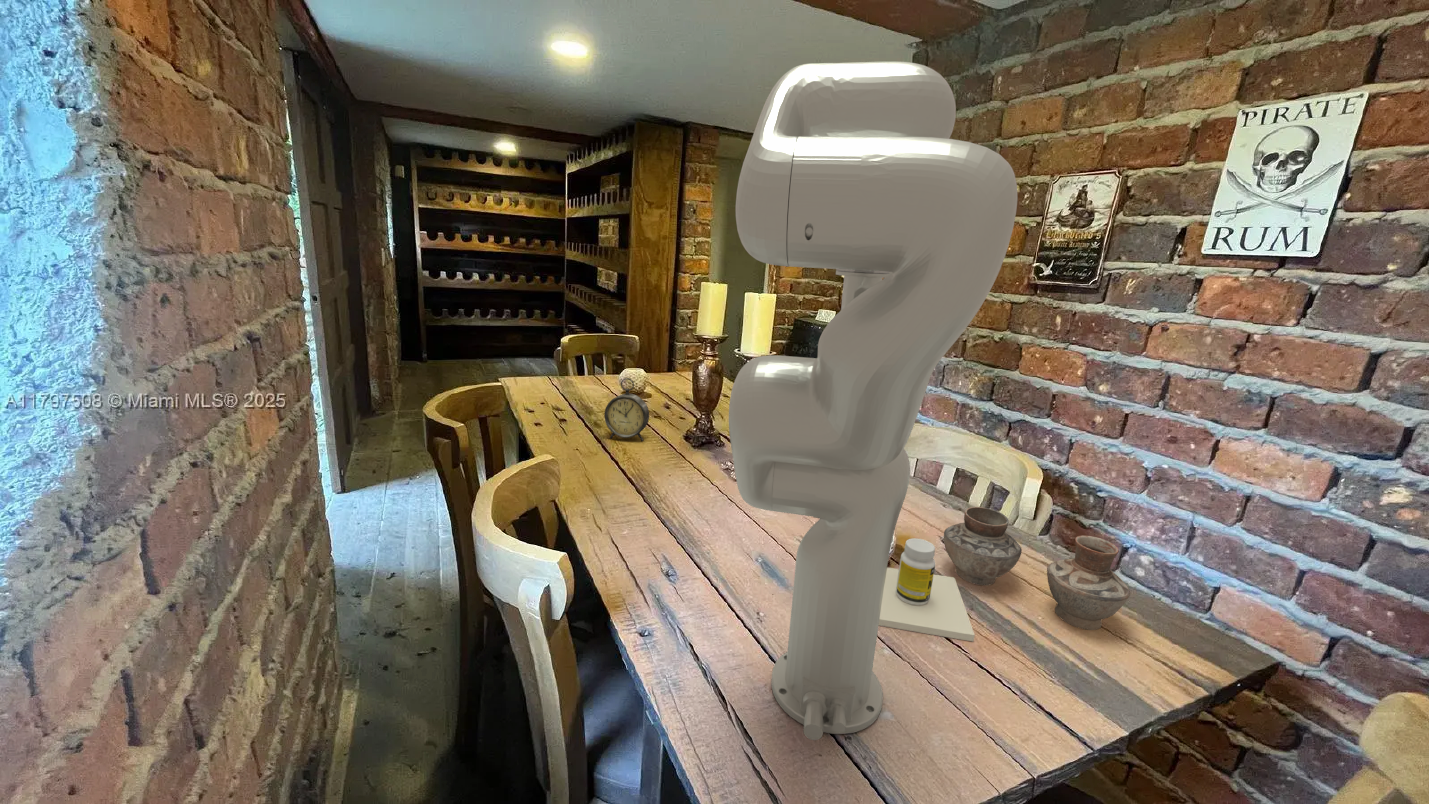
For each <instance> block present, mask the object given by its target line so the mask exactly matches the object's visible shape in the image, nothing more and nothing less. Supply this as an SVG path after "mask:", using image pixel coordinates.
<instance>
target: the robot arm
mask: <svg viewBox="0 0 1429 804" xmlns="http://www.w3.org/2000/svg"><path fill="white" fill-rule="evenodd" d="M956 108H957V106H956V99H955V97H954V93H953V90H952V88H951V86H950V85H949V83H948V81H947V80H946V79H945V78H944V76H942V74H940V73H939V72H938V71H936V70H935V69H933V68H932V67H929V66H926V65H924V64H921V63H920V64H919V63H915V62H909V61H867V62H866V61H863V62H862V61H861V62H860V61H857V62H856V61H854V62H823V63H819V62H818V63H814V62H813V63H810V62H809V63H804V64H800V65H797V66H794V67H792V68H790V69H789V70H788V71H787V72H785V73H784V74H783V75H782V76H780V78H779V79H778V80H777V81H776V83H775V84H774V85H773V87H772V89H771V90H770V93H769V94H768V96H767V98H766V100H765V102H764V105H763V107H762V110H761V111H760V115H759V118H758V120H757V124H756V126H755V129H754V132H753V134H752V137H751V141H750V144H749V146H748V149H747V152H746V154H745V158H744V159H743V162H742V167H741V170H740V173H739V178H738V181H737V189H736V198H735V221H736V223H735V224H736V229H737V233H738V237H739V239H740V243H741V245H742V246H743V248H744V249H745V251H746V252H747V253H748V254H749V255H750V256H751V257H752V258H753V259H755V260H756V261H759V262H761V263H763V264H767V265H772V266H778V267H779V266H782V267H792V268H795V267H797V268H807V269H809V268H814V269H831V270H835V275H837V276H843V285H842V293H841V294H842V295H841V307H840V311H839V312H838V313H837V314H835V315H834V316H833V317H832V319H831V320H829V322H828V323H827V325H826V326H825V327H824V329H823V331H822V333H821V335H820V337H819V339H818V343H817V357H816V358H814V357H805V356H804V357H803V356H789V355H762V356H757V357H754V358H752V359H750V360H749V361H747V362H746V363H745V364H743V366H742V367H741V368H740V370H739V371H738V373H737V375H736V377H735V379H734V383H732V384H733V385H732V388H731V393H730V399H729V404H728V405H729V406H728V431H729V433H728V434H729V441H730V448H731V454H732V460H733V467H734V474H735V480H736V485H737V489H738V492H739V494H740V496H741V498H742V500H743V501H744V502H745V504H747V505H749V506H751V507H753V508H755V509H759V510H763V511H764V510H765V511H769V512H776V513H784V514H790V515H791V514H792V515H800V516H804V517H805V516H806V517H811V518H812V517H813V518H815V519H818V520H817V521H816V522H815V523H814V524H813V525H812V526H811V527H810V528H809V529H808V530H807V531H806V533H805V534H804V536H803V537H802V539H801V541H800V543H799V545H798V548H797V552H796V559H795V567H794V568H795V569H794V577H793V591H792V600H791V608H790V609H791V610H790V619H789V620H790V622H789V631H788V632H789V633H788V641H787V643H788V644H787V651H786V652H785V653H783V654H782V655H781V656H780V657H778V659H777V660H776V661H775V663H774V665H773V668H772V672H771V680H770V681H771V682H770V683H771V689H772V695H773V696H774V697H775V700H776V702H777V703H778V705H779V706H780V707H781V709H782V710H783V711H784V712H785V713H786V714H787V715H788V716H789V717H790V718H792V719H793V720H794V721H796V722H798V723H799V724H800V725H801V724H802V725H803V734H804V736H805V737H806V738H807V739H809V740H811V741H818V740H820V739H821V738H822V737H823V735H824V733H827V734H832V735H834V734H835V735H847V734H852V733H856V732H859V731H862V730H865V729H866V728H868V727H870V726H871V725H872V724H873V723H874V722H875V721H876V720H878V718H879V716H880V713H881V711H882V706H883V702H884V698H883V697H884V692H883V689H882V685H881V682H880V680H879V678H878V677H877V675H876V674H875V673H874V671H873V667H874V660H875V659H874V658H875V655H876V653H875V652H876V646H877V641H878V640H877V639H878V631H879V619H880V612H881V605H882V598H883V591H884V584H885V578H886V571H887V567H888V565H889V564H888V563H889V558H890V553H891V552H890V551H891V548H892V542H893V538H894V534H895V530H896V526H897V524H898V523H897V522H898V520H899V516H900V513H901V511H902V507H903V506H904V505H903V504H904V502H905V499H906V495H907V492H908V488H909V484H910V475H911V463H910V459H909V455H908V453H907V452H906V449H905V446H906V445H907V443H908V440H909V438H910V437H911V434H912V431H913V429H914V426H915V422H916V420H917V417H918V414H919V412H920V409H921V406H922V403H923V401H924V398H925V395H926V391H927V388H928V386H929V383H930V380H931V376H932V374H933V372H934V371H935V369H936V367H937V365H938V364H939V362H940V361H941V360H942V358H943V357H944V356H945V355H946V353H947V352H948V351H949V350H950V349H951V348H952V346H953V345H954V344H955V343H956V342H957V340H958V339H959V338H960V337H961V335H962V334H963V333H964V332H965V330H966V329H967V328H968V326H969V325H970V324H971V323H972V321H973V319H974V318H975V316H976V315H977V314H978V312H979V310H980V309H981V307H982V305H983V304H984V302H985V300H986V299H987V297H988V295H989V293H990V292H991V290H992V287H993V286H994V283H995V281H996V279H997V277H998V275H999V274H1000V271H1001V268H1002V265H1003V262H1004V260H1005V257H1006V254H1007V252H1008V248H1009V246H1010V241H1011V238H1012V234H1013V229H1014V226H1015V220H1016V214H1017V207H1018V185H1017V184H1018V183H1017V180H1016V174H1015V172H1014V169H1013V167H1012V166H1011V164H1010V163H1009V162H1008V161H1007V159H1005V158H1004V157H1003V156H1002V155H1001V154H1000V153H998V152H996V151H994V150H992V149H990V148H989V147H987V146H983V145H981V144H978V143H973V142H971V141H965V140H959V139H954V138H951V136H952V133H953V131H954V126H955V123H956V117H957V116H956V112H957V109H956Z"/></svg>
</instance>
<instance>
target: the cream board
mask: <svg viewBox="0 0 1429 804" xmlns="http://www.w3.org/2000/svg"><path fill="white" fill-rule="evenodd" d="M898 572H899V568H893V567H889V566H887V571H886V578H885V584H884V591H883V598H882V605H881V612H880V619H879V626H881V627H886V628H892V629H898V630H904V631H908V632H909V631H911V632H913V633H914V632H915V633H921V634H926V635H932V636H939V637H944V638H950V639H956V640H962V641H967V642H973V643H974V642H975V641H974V640H975V637H976V636H975V632H974V629H973V627H972V623H971V621H970V618H969V615H968V612H967V609H966V606H965V604H964V601H963V598H962V595H961V592H960V590H959V589H960V588H959V587H958V584H957V581H956V577H953V576H945V575H938V574H934V575H933V581H932V587H931V593H930V599H929V601H928V603H926V604H924V605H913V604H909V603H906V602H904V601H902V600H901V599H900V598H899V597H898V596H897V594H896V585H897V579H898ZM879 626H878V627H879Z"/></svg>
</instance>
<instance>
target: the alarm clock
mask: <svg viewBox="0 0 1429 804" xmlns="http://www.w3.org/2000/svg"><path fill="white" fill-rule="evenodd" d="M625 380H629V381H630V382H631V383H632V387H631V388H630V389H629V388H624V387H623V382H624V381H625ZM620 386H621V388H622V390H625V393H622V394H620V395H618V396H616V397H614V398H612V399H611V400H609V402H608V403H607V405H606V406H605V409H604V421H605V424H606V427H607V428H608V430H609V431H610V432H611V435H610V436H609V439H613V436H615V435H616V436H618V437H620V438H624V439H628V438H633V437H636V436H638V438H639V439H640V440H641V442H644V438H643V436H642V435H641V432H642V431H643V430H644V429H645V428H646V427H647V425H648V424H649V421H650V411H649V408H648V405H647V403H646V402H645V400H644V399H642V398H641V397H639V395H636V394H633V393H630V391H631V390H633V389H634V386H635V383H634V380H632V379H631V378H628V377H625V378H623V379H622V380H621V382H620Z"/></svg>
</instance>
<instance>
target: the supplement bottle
mask: <svg viewBox="0 0 1429 804" xmlns="http://www.w3.org/2000/svg"><path fill="white" fill-rule="evenodd" d="M935 552H936V547H935V545H934V544H933V543H932V542H930V541H928V540H926V539H922V538H914V537H913V538H909V539H907V540H906V541H905V544H904V551H903V552H902V553H901V555H900V560H899V566H898V569H899V572H898V579H897V585H896V594H897V596H898V597H899V598H900V599H901V600H902V601H904V602H906V603H909V604H913V605H924V604H926V603H928V601H929V599H930V593H931V587H932V581H933V575H935V568H936V561H935V559H934V557H935Z"/></svg>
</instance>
